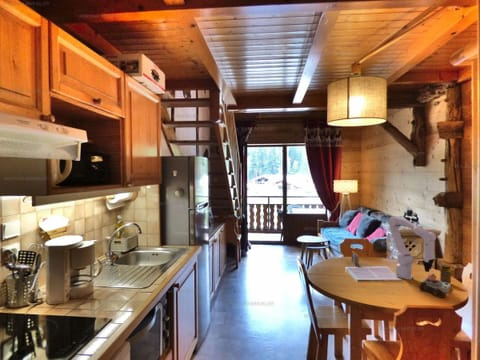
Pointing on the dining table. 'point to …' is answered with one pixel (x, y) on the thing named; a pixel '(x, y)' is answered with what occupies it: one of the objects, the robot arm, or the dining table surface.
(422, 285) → the bolt
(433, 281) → the orange short cylinder
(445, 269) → the yellow metal cylinder
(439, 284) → the button control panel
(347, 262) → the dining table surface
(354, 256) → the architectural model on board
